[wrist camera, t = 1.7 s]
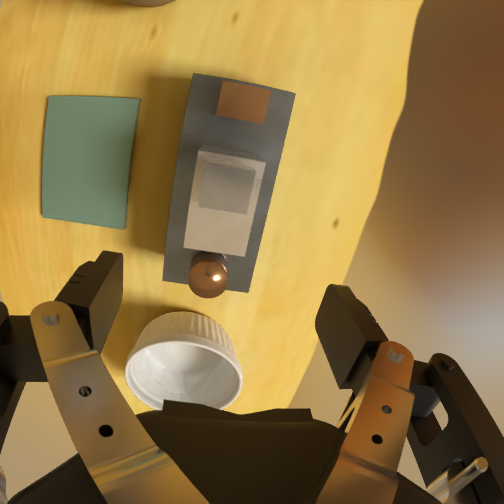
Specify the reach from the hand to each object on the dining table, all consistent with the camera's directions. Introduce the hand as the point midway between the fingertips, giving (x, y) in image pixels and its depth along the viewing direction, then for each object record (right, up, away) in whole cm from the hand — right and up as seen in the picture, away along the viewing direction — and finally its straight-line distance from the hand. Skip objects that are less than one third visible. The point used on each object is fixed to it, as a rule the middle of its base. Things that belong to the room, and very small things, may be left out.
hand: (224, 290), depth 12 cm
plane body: (-2, +8, +17) cm, 20 cm away
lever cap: (-1, +6, +13) cm, 15 cm away
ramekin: (-7, -10, +26) cm, 29 cm away
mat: (-15, +10, +15) cm, 24 cm away
